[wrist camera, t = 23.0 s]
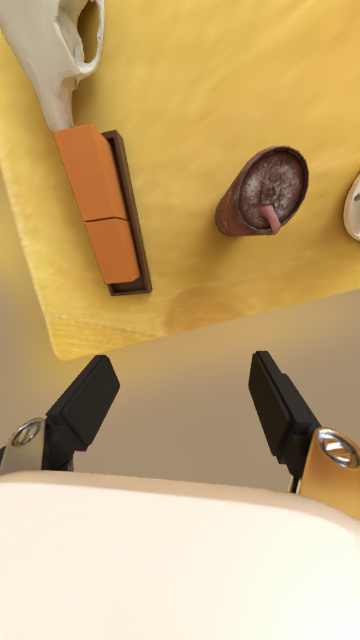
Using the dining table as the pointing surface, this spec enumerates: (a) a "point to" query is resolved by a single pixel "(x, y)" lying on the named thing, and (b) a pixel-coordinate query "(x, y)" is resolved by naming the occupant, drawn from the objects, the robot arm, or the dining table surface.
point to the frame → (143, 281)
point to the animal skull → (50, 51)
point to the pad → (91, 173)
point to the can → (264, 193)
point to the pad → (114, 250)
